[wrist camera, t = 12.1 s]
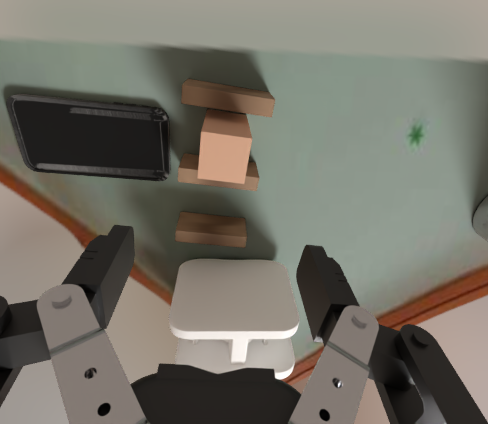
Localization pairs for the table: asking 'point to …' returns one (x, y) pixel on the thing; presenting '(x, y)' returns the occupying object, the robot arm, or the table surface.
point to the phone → (91, 137)
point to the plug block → (224, 147)
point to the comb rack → (205, 225)
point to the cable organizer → (234, 315)
